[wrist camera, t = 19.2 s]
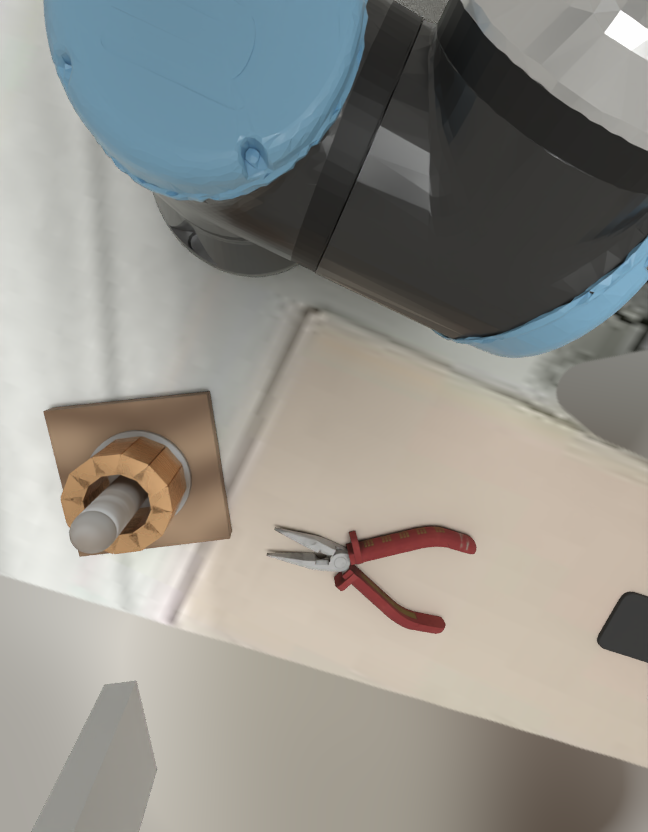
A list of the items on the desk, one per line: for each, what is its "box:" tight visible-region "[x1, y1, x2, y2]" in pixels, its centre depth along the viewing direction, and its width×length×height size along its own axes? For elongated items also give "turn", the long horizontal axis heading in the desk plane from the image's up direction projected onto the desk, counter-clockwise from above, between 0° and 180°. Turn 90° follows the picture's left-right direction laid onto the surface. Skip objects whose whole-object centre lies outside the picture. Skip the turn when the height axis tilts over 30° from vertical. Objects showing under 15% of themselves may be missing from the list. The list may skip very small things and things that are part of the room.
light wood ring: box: [61, 436, 187, 554], centre depth 38 cm, size 8×8×5 cm
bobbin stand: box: [43, 391, 232, 557], centre depth 36 cm, size 14×14×13 cm
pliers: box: [267, 526, 476, 634], centre depth 45 cm, size 12×20×3 cm, turn 73°
